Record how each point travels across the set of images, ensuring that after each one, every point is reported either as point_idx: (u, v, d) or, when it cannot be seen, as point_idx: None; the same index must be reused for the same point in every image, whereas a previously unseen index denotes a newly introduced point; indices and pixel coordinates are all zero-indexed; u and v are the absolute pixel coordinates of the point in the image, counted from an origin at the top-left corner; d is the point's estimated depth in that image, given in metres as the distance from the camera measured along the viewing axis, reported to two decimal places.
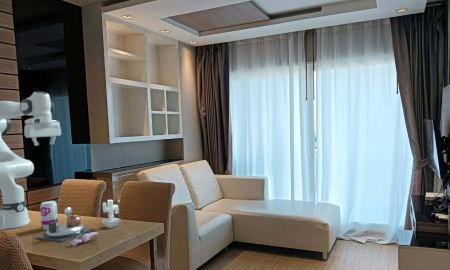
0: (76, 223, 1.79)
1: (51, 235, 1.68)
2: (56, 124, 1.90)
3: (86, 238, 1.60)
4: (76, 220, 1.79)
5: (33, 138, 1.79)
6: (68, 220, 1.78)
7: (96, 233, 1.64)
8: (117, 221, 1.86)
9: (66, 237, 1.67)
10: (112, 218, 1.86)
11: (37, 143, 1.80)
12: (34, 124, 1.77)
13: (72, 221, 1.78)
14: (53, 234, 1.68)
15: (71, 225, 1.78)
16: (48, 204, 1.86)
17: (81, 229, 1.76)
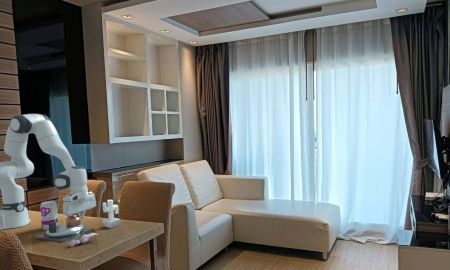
0: (76, 223, 1.79)
1: (51, 235, 1.68)
2: (91, 196, 1.91)
3: (84, 239, 1.59)
4: (76, 220, 1.79)
5: (77, 213, 1.83)
6: (68, 220, 1.78)
7: (95, 234, 1.62)
8: (117, 221, 1.86)
9: (66, 237, 1.67)
10: (112, 218, 1.86)
11: (81, 217, 1.85)
12: (72, 202, 1.78)
13: (71, 221, 1.78)
14: (53, 234, 1.68)
15: (71, 225, 1.78)
16: (48, 204, 1.85)
17: (81, 229, 1.76)
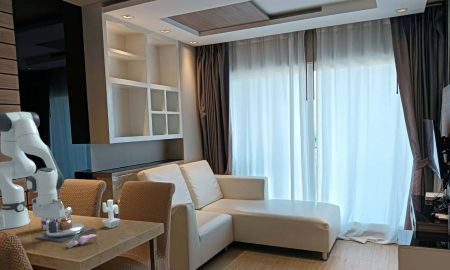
0: (67, 226, 1.74)
1: (51, 235, 1.68)
2: (54, 205, 1.66)
3: (82, 240, 1.57)
4: (67, 223, 1.74)
5: None
6: (59, 223, 1.73)
7: None
8: (117, 221, 1.86)
9: (66, 237, 1.67)
10: (112, 218, 1.86)
11: (47, 224, 1.70)
12: (34, 204, 1.71)
13: (63, 224, 1.73)
14: (53, 234, 1.68)
15: (62, 228, 1.73)
16: None
17: (81, 229, 1.76)
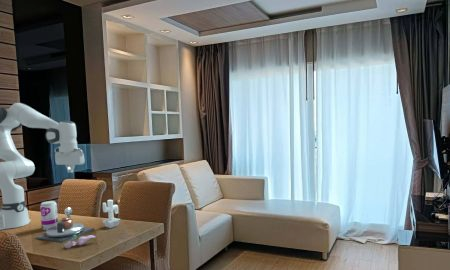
0: (71, 225, 1.76)
1: (61, 235, 1.68)
2: (75, 153, 1.86)
3: (80, 241, 1.56)
4: (71, 222, 1.76)
5: None
6: None
7: (92, 237, 1.59)
8: (117, 221, 1.86)
9: (66, 237, 1.67)
10: (112, 218, 1.86)
11: (68, 170, 1.91)
12: (57, 153, 1.92)
13: (67, 223, 1.74)
14: (64, 233, 1.68)
15: (67, 228, 1.73)
16: (48, 204, 1.86)
17: (83, 226, 1.81)
